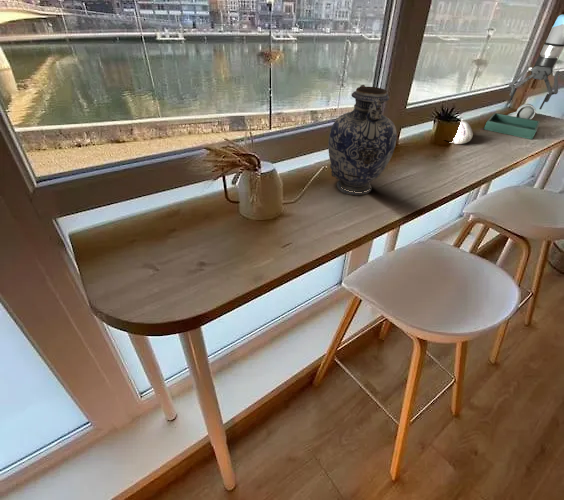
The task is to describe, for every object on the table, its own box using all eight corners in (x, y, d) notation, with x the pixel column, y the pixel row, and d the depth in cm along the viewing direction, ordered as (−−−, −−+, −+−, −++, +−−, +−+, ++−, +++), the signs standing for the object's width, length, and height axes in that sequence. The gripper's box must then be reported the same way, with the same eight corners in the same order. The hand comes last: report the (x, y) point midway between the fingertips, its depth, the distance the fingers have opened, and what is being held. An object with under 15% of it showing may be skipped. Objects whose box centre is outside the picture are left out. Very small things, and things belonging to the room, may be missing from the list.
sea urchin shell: (473, 139, 139) (481, 120, 134) (465, 148, 130) (474, 128, 125) (441, 132, 145) (448, 113, 140) (432, 140, 136) (439, 120, 131)
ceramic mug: (529, 119, 166) (537, 103, 161) (530, 123, 160) (538, 106, 155) (506, 115, 169) (513, 100, 165) (506, 119, 164) (513, 103, 159)
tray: (536, 129, 153) (540, 121, 150) (532, 139, 141) (536, 130, 139) (490, 120, 162) (494, 112, 159) (483, 129, 150) (487, 120, 148)
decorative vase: (319, 171, 109) (330, 79, 91) (374, 173, 109) (395, 81, 92) (327, 204, 92) (342, 99, 75) (392, 205, 93) (421, 101, 75)
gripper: (516, 53, 150) (495, 102, 164) (581, 61, 139) (553, 113, 153) (518, 51, 155) (498, 99, 168) (581, 59, 144) (554, 109, 157)
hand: (524, 105), depth 160 cm, fingers open, 13 cm apart
